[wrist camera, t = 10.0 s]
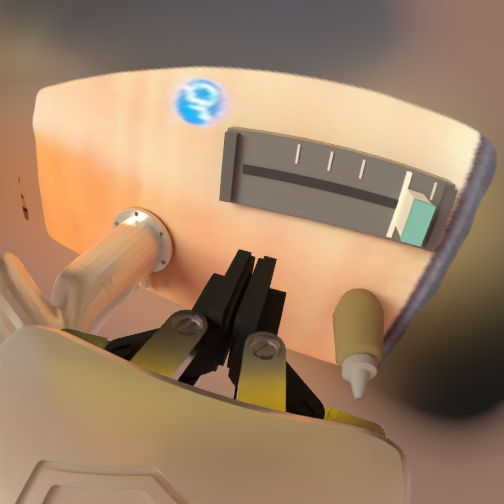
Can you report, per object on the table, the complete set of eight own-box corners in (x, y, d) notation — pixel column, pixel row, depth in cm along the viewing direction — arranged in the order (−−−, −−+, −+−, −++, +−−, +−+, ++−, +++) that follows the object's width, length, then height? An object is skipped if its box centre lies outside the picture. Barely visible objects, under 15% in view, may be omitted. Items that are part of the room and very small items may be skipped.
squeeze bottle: (363, 326, 46) (364, 417, 31) (324, 308, 46) (313, 402, 31) (390, 294, 41) (405, 389, 26) (349, 274, 42) (351, 371, 27)
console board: (426, 244, 36) (432, 254, 33) (226, 195, 40) (219, 203, 38) (450, 180, 30) (458, 187, 28) (233, 126, 35) (225, 129, 32)
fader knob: (411, 229, 33) (420, 246, 29) (394, 224, 33) (401, 241, 30) (424, 193, 30) (435, 206, 26) (406, 187, 31) (415, 200, 27)
